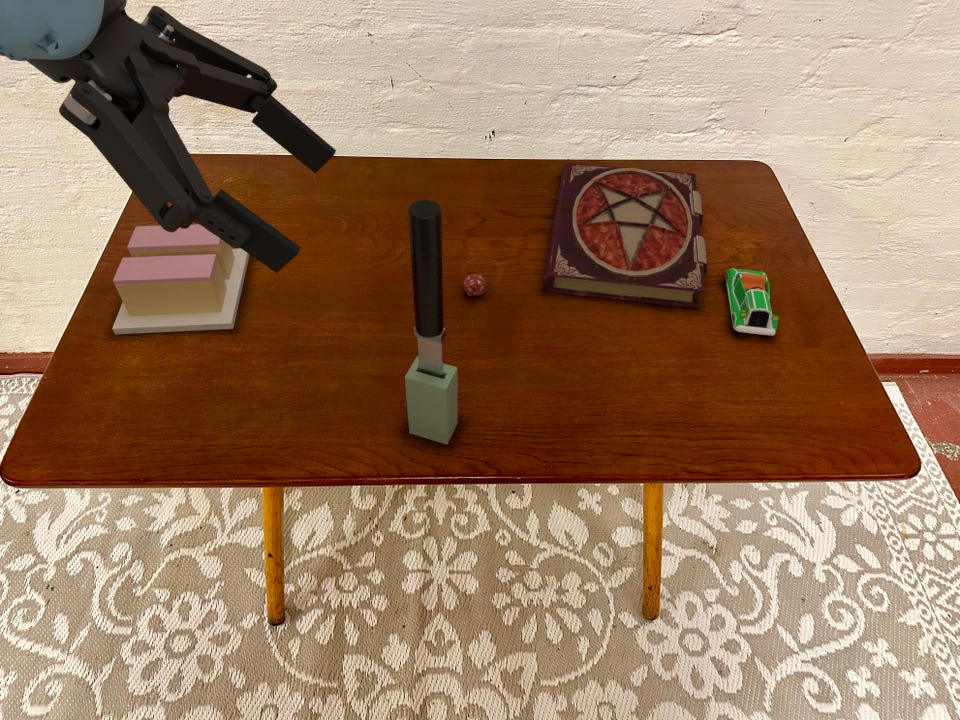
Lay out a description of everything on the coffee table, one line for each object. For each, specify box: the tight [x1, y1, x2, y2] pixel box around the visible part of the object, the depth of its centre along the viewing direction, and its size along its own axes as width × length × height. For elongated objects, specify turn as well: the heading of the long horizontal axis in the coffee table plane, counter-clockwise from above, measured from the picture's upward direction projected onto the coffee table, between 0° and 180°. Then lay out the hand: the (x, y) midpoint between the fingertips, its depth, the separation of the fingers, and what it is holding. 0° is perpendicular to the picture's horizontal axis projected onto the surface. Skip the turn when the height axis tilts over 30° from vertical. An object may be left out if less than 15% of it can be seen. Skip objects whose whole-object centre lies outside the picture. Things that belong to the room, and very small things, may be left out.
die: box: [462, 273, 487, 297], centre depth 88 cm, size 3×3×3 cm
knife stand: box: [404, 355, 459, 445], centre depth 71 cm, size 3×4×9 cm
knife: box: [407, 199, 447, 379], centre depth 63 cm, size 3×3×26 cm
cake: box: [111, 223, 251, 335], centre depth 86 cm, size 15×14×7 cm
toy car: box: [724, 266, 780, 337], centre depth 87 cm, size 12×5×4 cm, turn 172°
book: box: [542, 162, 708, 310], centre depth 97 cm, size 28×21×5 cm
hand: (309, 207), depth 54 cm, fingers open, 13 cm apart
